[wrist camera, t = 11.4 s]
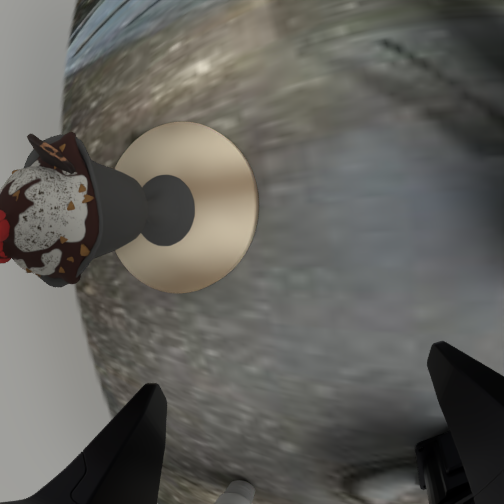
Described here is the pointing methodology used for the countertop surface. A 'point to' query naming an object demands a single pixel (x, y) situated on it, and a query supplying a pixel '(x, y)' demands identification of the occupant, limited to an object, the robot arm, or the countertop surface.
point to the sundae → (83, 210)
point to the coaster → (206, 206)
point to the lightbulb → (237, 493)
